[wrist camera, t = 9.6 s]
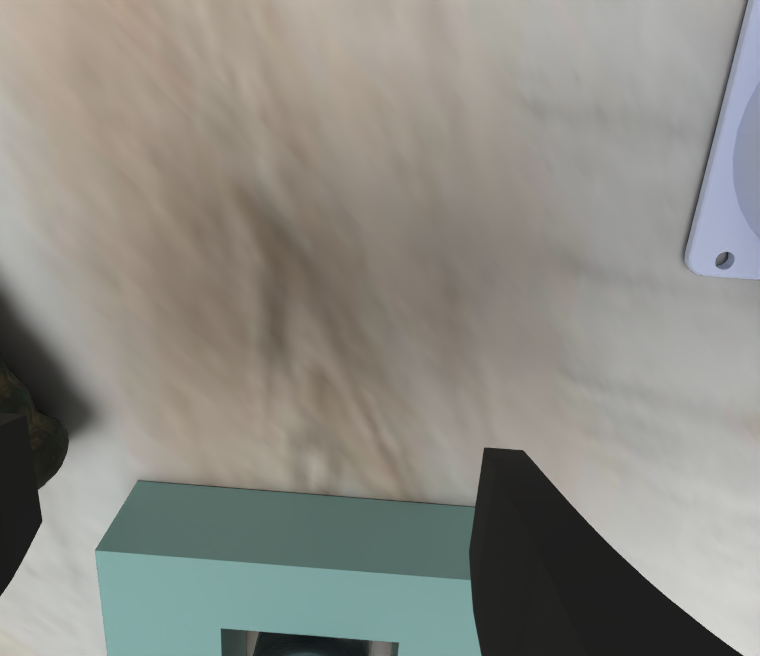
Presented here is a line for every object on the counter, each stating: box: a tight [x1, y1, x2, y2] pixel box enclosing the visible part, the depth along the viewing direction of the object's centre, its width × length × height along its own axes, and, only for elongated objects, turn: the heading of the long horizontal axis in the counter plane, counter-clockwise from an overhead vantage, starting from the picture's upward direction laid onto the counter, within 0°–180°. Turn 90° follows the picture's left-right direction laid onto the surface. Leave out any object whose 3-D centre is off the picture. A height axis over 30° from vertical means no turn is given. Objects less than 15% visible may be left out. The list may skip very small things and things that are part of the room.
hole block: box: [95, 481, 481, 656], centre depth 24 cm, size 13×11×4 cm
